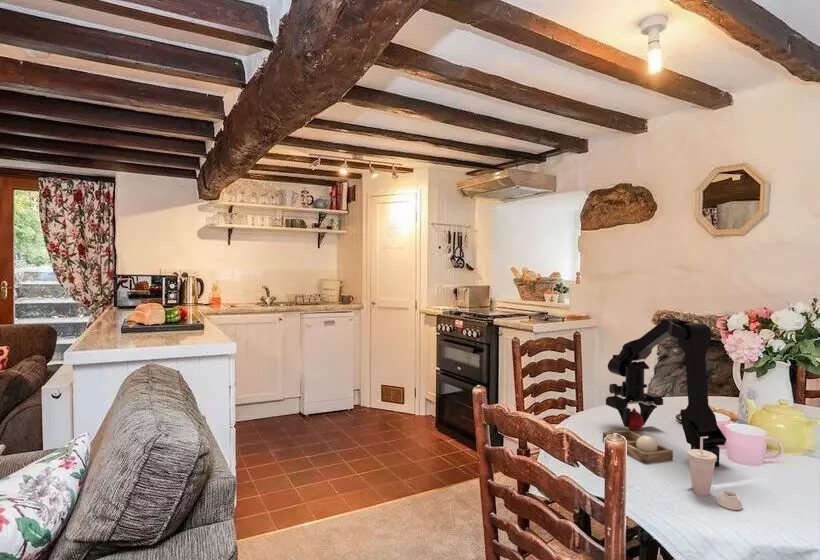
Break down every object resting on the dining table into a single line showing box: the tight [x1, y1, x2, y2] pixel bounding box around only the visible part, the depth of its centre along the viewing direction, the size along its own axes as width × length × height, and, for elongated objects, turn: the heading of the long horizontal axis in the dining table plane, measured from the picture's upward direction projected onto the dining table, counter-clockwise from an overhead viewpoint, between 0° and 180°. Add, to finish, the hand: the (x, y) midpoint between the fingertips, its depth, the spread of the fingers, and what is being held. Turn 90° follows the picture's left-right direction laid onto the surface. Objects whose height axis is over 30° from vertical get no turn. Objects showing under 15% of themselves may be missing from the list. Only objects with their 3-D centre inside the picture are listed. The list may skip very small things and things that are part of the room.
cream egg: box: [636, 435, 658, 453], centre depth 140 cm, size 6×6×6 cm
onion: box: [627, 407, 644, 432], centre depth 162 cm, size 6×6×8 cm
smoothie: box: [686, 437, 717, 497], centre depth 120 cm, size 6×6×14 cm
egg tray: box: [602, 429, 674, 464], centre depth 145 cm, size 18×10×4 cm, turn 15°
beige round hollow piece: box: [716, 490, 743, 511], centre depth 113 cm, size 5×3×5 cm
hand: (634, 426), depth 162 cm, fingers open, 6 cm apart
